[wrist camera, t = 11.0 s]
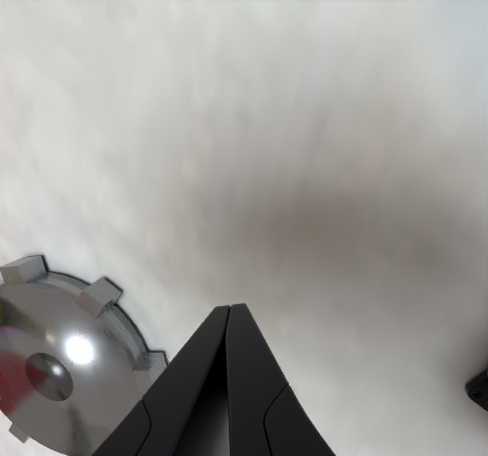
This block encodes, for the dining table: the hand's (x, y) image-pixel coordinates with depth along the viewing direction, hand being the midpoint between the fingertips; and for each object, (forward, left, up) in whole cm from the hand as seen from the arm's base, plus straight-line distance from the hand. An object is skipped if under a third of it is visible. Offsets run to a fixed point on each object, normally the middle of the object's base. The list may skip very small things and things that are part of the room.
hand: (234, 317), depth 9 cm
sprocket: (+8, +21, -11) cm, 25 cm away
